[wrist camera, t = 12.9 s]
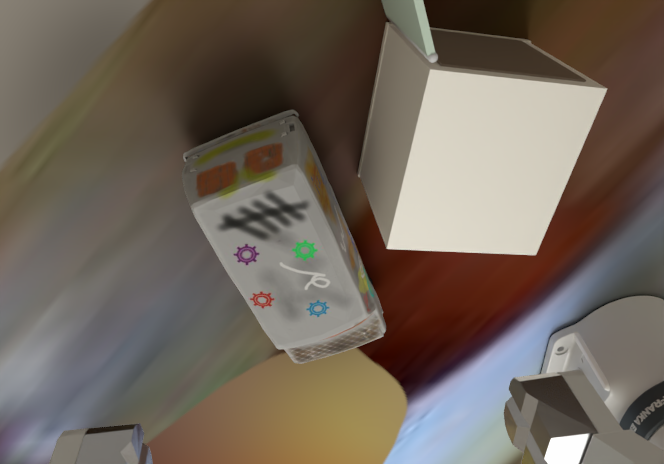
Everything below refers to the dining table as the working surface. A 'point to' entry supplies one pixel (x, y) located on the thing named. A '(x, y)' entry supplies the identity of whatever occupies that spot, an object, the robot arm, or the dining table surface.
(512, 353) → the dining table surface
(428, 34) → the end flap
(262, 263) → the toy car
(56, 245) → the dining table surface
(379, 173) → the carton
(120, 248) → the dining table surface
